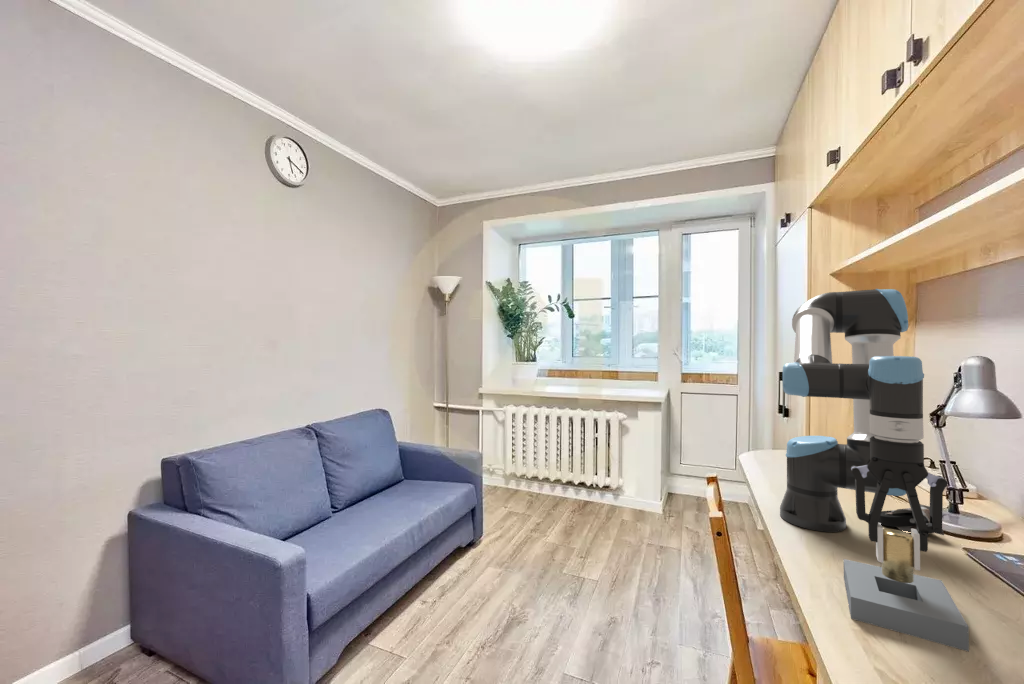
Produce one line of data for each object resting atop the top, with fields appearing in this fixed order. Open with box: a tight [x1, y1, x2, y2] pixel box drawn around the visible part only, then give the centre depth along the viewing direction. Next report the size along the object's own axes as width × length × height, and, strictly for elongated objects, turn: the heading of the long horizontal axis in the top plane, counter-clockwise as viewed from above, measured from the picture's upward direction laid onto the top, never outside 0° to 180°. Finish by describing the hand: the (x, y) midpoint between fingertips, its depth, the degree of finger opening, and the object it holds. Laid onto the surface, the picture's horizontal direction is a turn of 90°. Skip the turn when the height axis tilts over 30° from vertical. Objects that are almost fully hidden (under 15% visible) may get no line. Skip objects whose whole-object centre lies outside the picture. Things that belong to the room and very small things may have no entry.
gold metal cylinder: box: [881, 528, 914, 583], centre depth 80 cm, size 4×4×8 cm
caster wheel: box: [878, 504, 945, 536], centre depth 113 cm, size 7×11×10 cm
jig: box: [842, 558, 970, 652], centre depth 80 cm, size 16×15×4 cm
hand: (897, 562), depth 80 cm, fingers closed on gold metal cylinder, 4 cm apart
